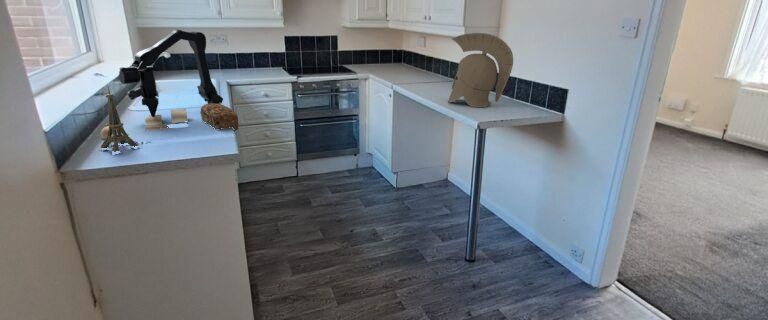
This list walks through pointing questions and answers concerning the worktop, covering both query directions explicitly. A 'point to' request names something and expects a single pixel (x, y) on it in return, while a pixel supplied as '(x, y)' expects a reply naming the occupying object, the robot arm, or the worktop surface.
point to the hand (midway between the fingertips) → (153, 116)
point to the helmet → (481, 69)
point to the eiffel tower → (113, 125)
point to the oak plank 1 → (153, 120)
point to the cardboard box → (157, 127)
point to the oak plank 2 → (179, 115)
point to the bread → (219, 116)
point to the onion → (105, 132)
